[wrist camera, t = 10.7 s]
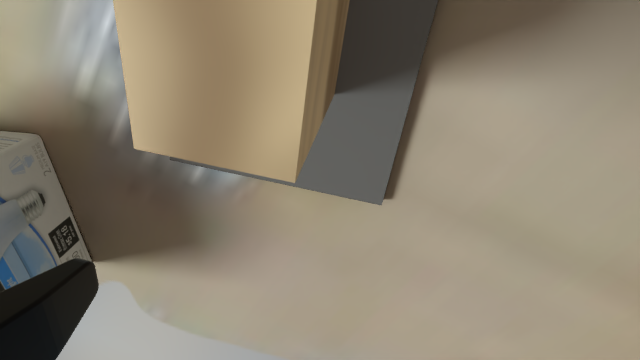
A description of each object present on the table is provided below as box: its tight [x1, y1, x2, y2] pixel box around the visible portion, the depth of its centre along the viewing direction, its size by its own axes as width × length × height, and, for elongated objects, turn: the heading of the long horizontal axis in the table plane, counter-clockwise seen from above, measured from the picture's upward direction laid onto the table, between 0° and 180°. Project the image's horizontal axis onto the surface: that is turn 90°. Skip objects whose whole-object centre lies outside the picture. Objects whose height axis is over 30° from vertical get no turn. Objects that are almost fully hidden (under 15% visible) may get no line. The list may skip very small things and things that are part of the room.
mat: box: [170, 0, 438, 205], centre depth 17 cm, size 12×16×1 cm
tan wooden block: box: [113, 0, 350, 183], centre depth 13 cm, size 5×5×8 cm
